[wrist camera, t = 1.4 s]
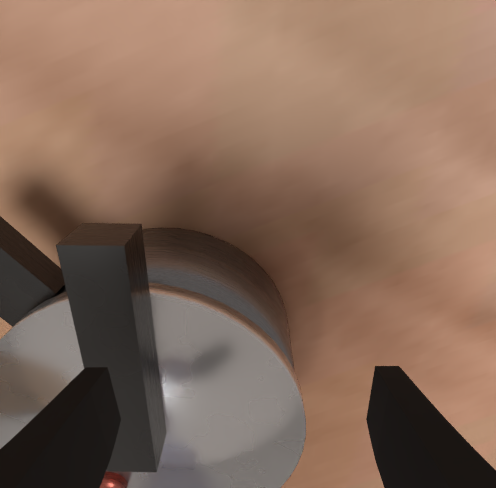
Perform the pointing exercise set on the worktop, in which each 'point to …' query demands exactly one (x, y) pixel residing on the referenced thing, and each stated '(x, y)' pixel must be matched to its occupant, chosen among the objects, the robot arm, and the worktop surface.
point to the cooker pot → (153, 276)
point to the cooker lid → (157, 371)
